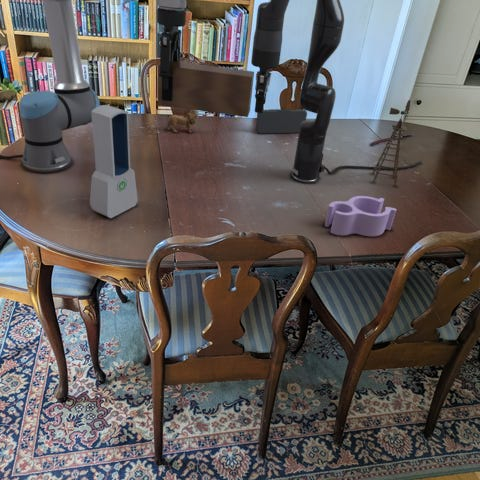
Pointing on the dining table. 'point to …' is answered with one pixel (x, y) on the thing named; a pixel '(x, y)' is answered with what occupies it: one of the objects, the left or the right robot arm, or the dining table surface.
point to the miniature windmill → (399, 125)
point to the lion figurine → (183, 120)
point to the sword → (386, 139)
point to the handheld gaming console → (280, 120)
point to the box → (209, 89)
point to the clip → (359, 216)
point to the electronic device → (112, 163)
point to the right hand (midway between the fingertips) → (259, 107)
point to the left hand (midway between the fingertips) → (170, 96)
